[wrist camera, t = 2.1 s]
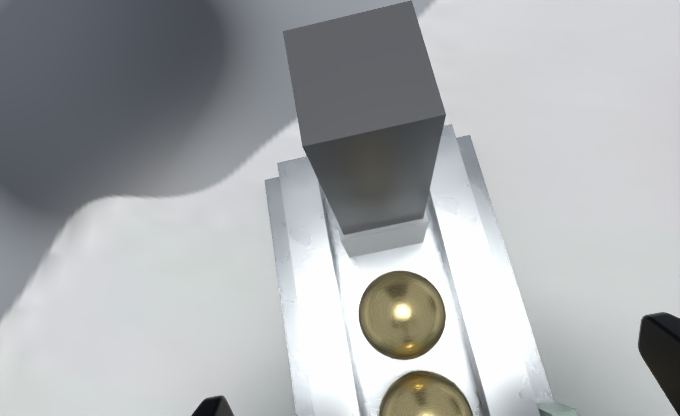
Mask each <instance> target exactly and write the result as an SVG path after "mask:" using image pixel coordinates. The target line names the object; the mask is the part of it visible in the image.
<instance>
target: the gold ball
mask: <svg viewBox="0 0 680 416" xmlns="http://www.w3.org/2000/svg"><path fill="white" fill-rule="evenodd" d="M378 416H473V413H472V410H471V407H470V404H469V402H468V400H467V398H466V397H465V395H464V393H463V392H462V391H461V389H460V388H459V387H458V386H457V385H456V384H455V383H454V382H453V381H451V380H450V379H449V378H447V377H445V376H443V375H441V374H439V373H436V372H433V371H427V370H418V371H412V372H408V373H406V374H404V375H402V376H400V377H398V378H397V379H396V380H395V381H393V382H392V383H391V385H390V386H389V387H388V388H387V390H386V391H385V393H384V395H383V397H382V400H381V403H380V407H379V414H378Z"/></svg>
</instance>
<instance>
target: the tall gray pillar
mask: <svg viewBox="0 0 680 416" xmlns="http://www.w3.org/2000/svg"><path fill="white" fill-rule="evenodd" d="M283 34H284V40H285V46H286V52H287V58H288V64H289V70H290V75H291V81H292V87H293V93H294V99H295V105H296V111H297V117H298V123H299V128H300V134H301V140H302V146H303V148H304V151H305V153H306V155H307V157H308V159H309V161H310V164H311V166H312V168H313V170H314V172H315V174H316V176H317V179H318V181H319V183H320V185H321V187H322V189H323V191H324V194H325V196H326V198H327V200H328V202H329V204H330V206H331V209H332V211H333V213H334V215H335V217H336V220H337V226H338V231H339V236H340V241H341V243H342V245H343V246H344V248H345V250H346V252H347V254H348V256H349V258H351V257H355V256H360V255H365V254H370V253H375V252H380V251H385V250H389V249H394V248H399V247H404V246H409V245H414V244H419V243H423V242H424V238H425V234H426V231H427V227H428V223H429V220H428V217H427V213H426V209H425V208H426V204H427V199H428V194H429V190H430V185H431V181H432V176H433V171H434V167H435V162H436V158H437V153H438V148H439V144H440V139H441V135H442V130H443V125H444V121H445V116H446V113H445V110H444V107H443V103H442V100H441V97H440V93H439V90H438V87H437V84H436V80H435V77H434V74H433V70H432V67H431V64H430V60H429V57H428V54H427V50H426V47H425V44H424V40H423V37H422V34H421V30H420V27H419V24H418V20H417V17H416V14H415V10H414V7H413V4H412V1H408V2H403V3H399V4H395V5H391V6H387V7H383V8H378V9H374V10H370V11H366V12H362V13H358V14H354V15H349V16H345V17H341V18H337V19H333V20H329V21H325V22H320V23H316V24H312V25H308V26H304V27H299V28H295V29H291V30H287V31H284V32H283Z"/></svg>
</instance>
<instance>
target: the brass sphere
mask: <svg viewBox="0 0 680 416" xmlns="http://www.w3.org/2000/svg"><path fill="white" fill-rule="evenodd" d="M358 318H359V324H360V328H361V330H362V333H363V335H364V337H365V339H366V340H367V341H368V343H369V344H370V345H371V346H372V347H373V348H374V349H375V350H376V351H378V352H379V353H381V354H382V355H384V356H387V357H389V358H392V359H397V360H410V359H415V358H418V357H421V356H423V355H425V354H426V353H428V352H429V351H430V350H432V349H433V348H434V347H435V345H436V344H437V343H438V342H439V340H440V338H441V336H442V334H443V332H444V329H445V324H446V309H445V304H444V301H443V299H442V297H441V294H440V293H439V291H438V290H437V288H436V287H435V286H434V285H433V284H432V283H431V282H430V281H429V280H428V279H426V278H425V277H423V276H421V275H419V274H417V273H414V272H411V271H404V270H397V271H391V272H387V273H385V274H382V275H380V276H379V277H377V278H376V279H374V280H373V281H372V282H371V283H370V284H369V285H368V286H367V288H366V289H365V291H364V293H363V294H362V297H361V299H360V303H359V309H358Z"/></svg>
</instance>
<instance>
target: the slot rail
mask: <svg viewBox="0 0 680 416" xmlns="http://www.w3.org/2000/svg"><path fill="white" fill-rule="evenodd" d="M277 164H278V170H279V177H277V178H272V179H268V180H265V186H266V194H267V201H268V209H269V216H270V224H271V231H272V239H273V246H274V253H275V261H276V268H277V276H278V283H279V291H280V298H281V306H282V313H283V321H284V328H285V336H286V343H287V350H288V358H289V365H290V373H291V380H292V388H293V395H294V403H295V410H296V416H378V414H379V407H380V403H381V400H382V397H383V395H384V393H385V391H386V390H387V388H388V387H389V386H390V385H391V383H392V382H393V381H395V380H396V379H397V378H398V377H400V376H402V375H404V374H406V373H408V372H412V371H418V370H427V371H433V372H436V373H439V374H441V375H443V376H445V377H447V378H449V379H450V380H451V381H453V382H454V383H455V384H456V385H457V386H458V387H459V388H460V389H461V391H462V392H463V393H464V395H465V397H466V398H467V400H468V402H469V404H470V407H471V410H472V413H473V416H540V413H539V410H538V407H537V405H539V404H544V403H550V402H554V400H553V396H552V393H551V390H550V387H549V384H548V381H547V377H546V374H545V371H544V368H543V365H542V362H541V359H540V355H539V352H538V349H537V346H536V343H535V340H534V336H533V333H532V330H531V327H530V324H529V321H528V317H527V314H526V311H525V308H524V305H523V302H522V298H521V295H520V292H519V289H518V286H517V283H516V279H515V276H514V273H513V270H512V267H511V264H510V261H509V257H508V254H507V251H506V248H505V245H504V242H503V238H502V235H501V232H500V229H499V226H498V223H497V219H496V216H495V213H494V210H493V207H492V204H491V200H490V197H489V194H488V191H487V188H486V185H485V181H484V178H483V175H482V172H481V169H480V166H479V162H478V159H477V156H476V153H475V150H474V147H473V144H472V140H471V137H470V135H468V136H463V137H459V138H456V136H455V133H454V130H453V127H452V124H451V125H447V126H443V130H442V135H441V139H440V144H439V148H438V153H437V158H436V162H435V167H434V171H433V176H432V181H431V185H430V190H429V194H428V199H427V204H426V208H425V209H426V213H427V217H428V220H429V223H428V227H427V231H426V234H425V238H424V242H423V243H419V244H414V245H409V246H404V247H399V248H394V249H389V250H385V251H380V252H375V253H370V254H365V255H360V256H355V257H351V258H349V256H348V254H347V252H346V250H345V248H344V246H343V245H342V243H341V241H340V236H339V231H338V226H337V220H336V217H335V215H334V213H333V211H332V209H331V206H330V204H329V202H328V200H327V198H326V196H325V194H324V191H323V189H322V187H321V185H320V183H319V181H318V179H317V176H316V174H315V172H314V170H313V168H312V166H311V164H310V161H309V159H308V157H302V158H298V159H293V160H289V161H284V162H280V163H277ZM397 270H404V271H411V272H414V273H417V274H419V275H421V276H423V277H425V278H426V279H428V280H429V281H430V282H431V283H432V284H433V285H434V286H435V287H436V288H437V290H438V291H439V293H440V294H441V297H442V299H443V301H444V304H445V309H446V324H445V329H444V332H443V334H442V336H441V338H440V340H439V342H438V343H437V344H436V345H435V347H434V348H433V349H432V350H430V351H429V352H428V353H426V354H425V355H423V356H421V357H418V358H415V359H410V360H397V359H392V358H389V357H387V356H384V355H382V354H381V353H379V352H378V351H376V350H375V349H374V348H373V347H372V346H371V345H370V344H369V343H368V341H367V340H366V339H365V337H364V335H363V333H362V330H361V328H360V324H359V318H358V309H359V303H360V299H361V297H362V294H363V293H364V291H365V289H366V288H367V286H368V285H369V284H370V283H371V282H372V281H373V280H374V279H376V278H377V277H379V276H380V275H382V274H385V273H387V272H391V271H397Z"/></svg>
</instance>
